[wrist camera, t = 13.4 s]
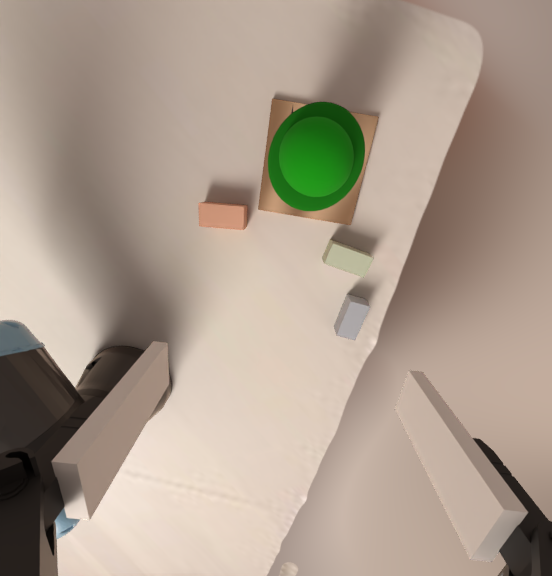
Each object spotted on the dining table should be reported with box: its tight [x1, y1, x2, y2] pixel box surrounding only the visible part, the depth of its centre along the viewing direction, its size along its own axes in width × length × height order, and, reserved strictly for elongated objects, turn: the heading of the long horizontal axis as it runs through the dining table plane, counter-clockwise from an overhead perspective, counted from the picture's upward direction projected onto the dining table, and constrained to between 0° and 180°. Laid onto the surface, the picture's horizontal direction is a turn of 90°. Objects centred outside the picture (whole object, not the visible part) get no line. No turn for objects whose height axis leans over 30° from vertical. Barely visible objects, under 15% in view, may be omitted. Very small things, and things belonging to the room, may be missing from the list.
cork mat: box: [258, 99, 379, 225], centre depth 34 cm, size 13×13×1 cm
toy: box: [268, 102, 365, 211], centre depth 27 cm, size 9×9×15 cm
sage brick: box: [322, 239, 374, 278], centre depth 38 cm, size 6×3×3 cm, turn 71°
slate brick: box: [334, 294, 370, 340], centre depth 41 cm, size 6×3×3 cm, turn 165°
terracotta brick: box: [199, 202, 247, 230], centre depth 36 cm, size 6×3×3 cm, turn 86°
